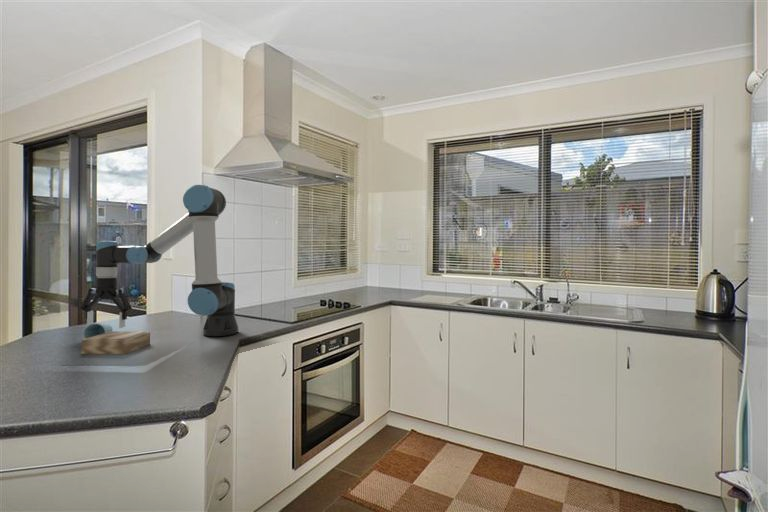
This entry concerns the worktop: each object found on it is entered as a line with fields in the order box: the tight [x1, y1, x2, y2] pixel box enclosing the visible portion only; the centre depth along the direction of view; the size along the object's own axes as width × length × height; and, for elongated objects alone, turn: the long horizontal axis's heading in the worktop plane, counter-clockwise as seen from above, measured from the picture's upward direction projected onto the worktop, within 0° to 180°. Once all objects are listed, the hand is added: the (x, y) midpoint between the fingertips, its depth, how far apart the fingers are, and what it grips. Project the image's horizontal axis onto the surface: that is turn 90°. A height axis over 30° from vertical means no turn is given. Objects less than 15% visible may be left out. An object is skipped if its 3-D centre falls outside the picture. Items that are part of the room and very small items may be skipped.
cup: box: [83, 323, 113, 339], centre depth 174 cm, size 8×8×10 cm
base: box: [81, 330, 151, 355], centre depth 161 cm, size 16×16×5 cm
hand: (106, 327), depth 179 cm, fingers open, 13 cm apart
